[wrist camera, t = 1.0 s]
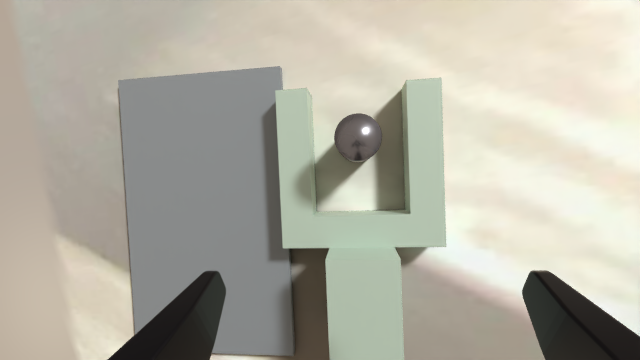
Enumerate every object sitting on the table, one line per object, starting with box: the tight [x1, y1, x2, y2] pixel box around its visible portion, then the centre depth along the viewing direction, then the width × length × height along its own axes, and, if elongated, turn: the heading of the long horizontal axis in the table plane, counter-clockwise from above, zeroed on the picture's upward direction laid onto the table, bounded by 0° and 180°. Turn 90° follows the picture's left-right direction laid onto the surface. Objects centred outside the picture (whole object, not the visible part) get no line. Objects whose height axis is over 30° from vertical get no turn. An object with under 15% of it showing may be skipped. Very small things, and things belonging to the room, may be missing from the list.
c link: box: [275, 78, 446, 360], centre depth 18 cm, size 16×10×4 cm, turn 2°
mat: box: [118, 66, 295, 356], centre depth 21 cm, size 20×12×1 cm, turn 2°
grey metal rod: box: [334, 114, 382, 162], centre depth 18 cm, size 2×2×5 cm
